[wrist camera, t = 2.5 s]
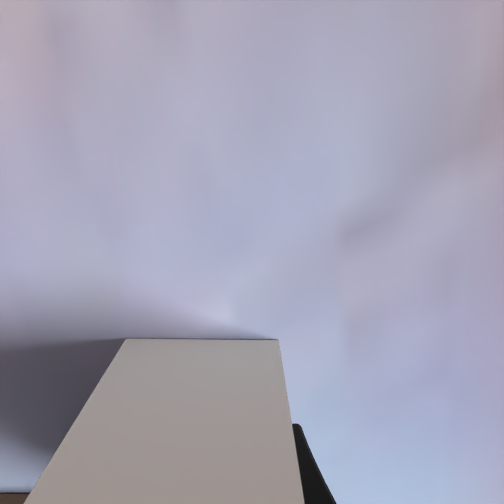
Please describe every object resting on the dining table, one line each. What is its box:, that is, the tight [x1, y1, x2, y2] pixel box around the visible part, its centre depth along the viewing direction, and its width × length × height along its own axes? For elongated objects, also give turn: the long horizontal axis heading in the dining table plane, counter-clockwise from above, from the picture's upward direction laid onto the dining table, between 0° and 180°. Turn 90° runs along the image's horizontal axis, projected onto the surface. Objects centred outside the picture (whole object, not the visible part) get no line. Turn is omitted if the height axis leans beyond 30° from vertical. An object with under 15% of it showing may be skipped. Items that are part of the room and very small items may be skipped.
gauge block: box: [24, 339, 305, 504], centre depth 8 cm, size 6×5×6 cm
